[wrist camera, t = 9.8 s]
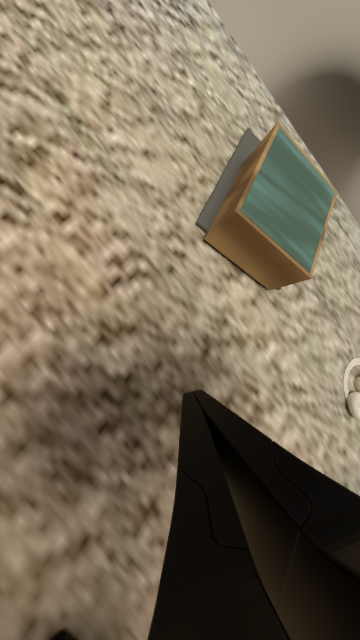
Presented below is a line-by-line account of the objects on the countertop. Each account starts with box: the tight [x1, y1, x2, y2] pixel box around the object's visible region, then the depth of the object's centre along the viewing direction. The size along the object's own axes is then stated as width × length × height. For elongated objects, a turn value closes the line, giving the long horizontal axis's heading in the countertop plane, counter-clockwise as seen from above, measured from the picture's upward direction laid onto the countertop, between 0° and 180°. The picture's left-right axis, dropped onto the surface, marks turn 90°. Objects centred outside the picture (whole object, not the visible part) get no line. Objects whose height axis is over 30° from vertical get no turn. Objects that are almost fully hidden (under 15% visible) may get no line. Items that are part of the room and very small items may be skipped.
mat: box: [196, 128, 281, 290], centre depth 25 cm, size 16×13×1 cm
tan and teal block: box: [204, 122, 337, 290], centre depth 21 cm, size 5×10×12 cm
